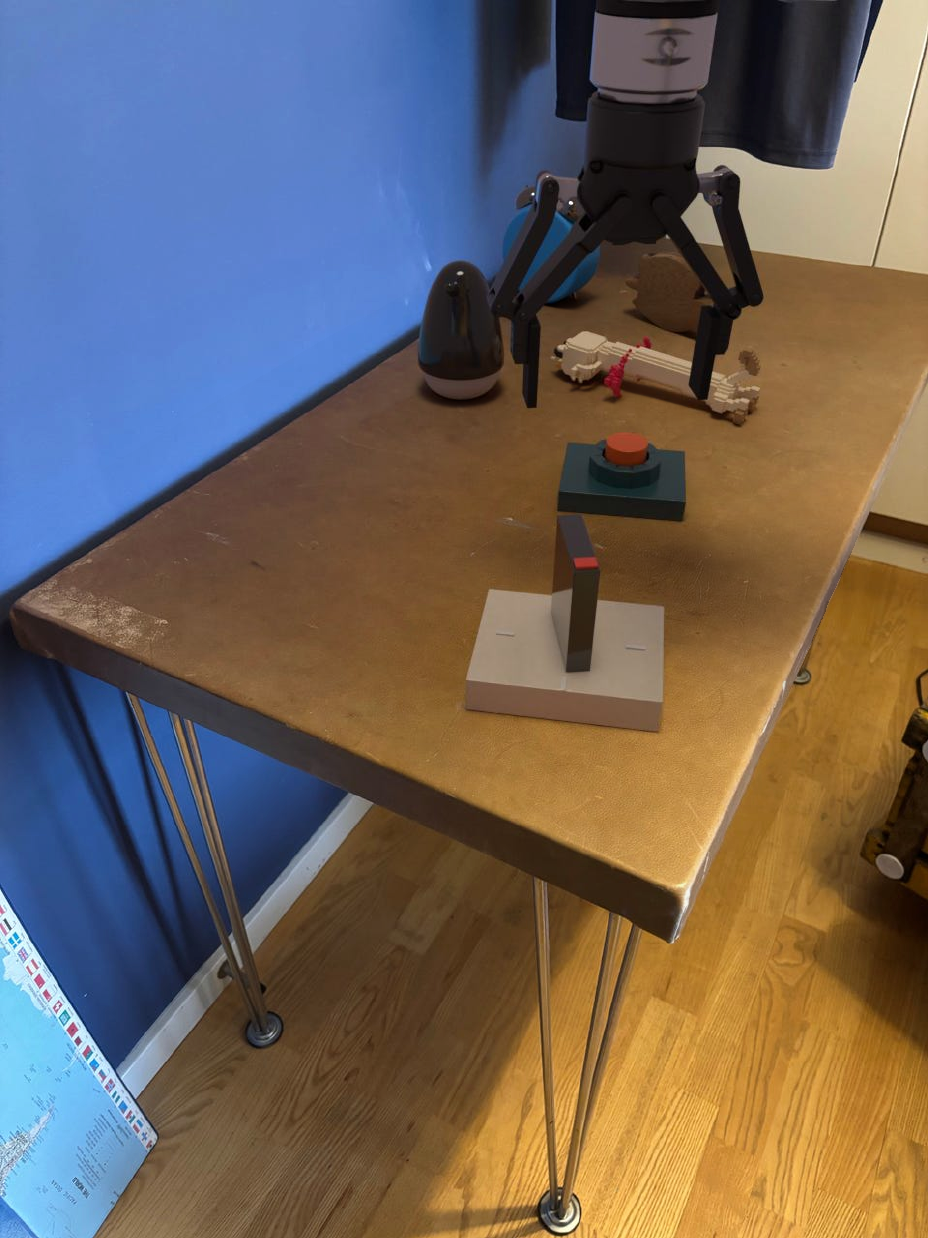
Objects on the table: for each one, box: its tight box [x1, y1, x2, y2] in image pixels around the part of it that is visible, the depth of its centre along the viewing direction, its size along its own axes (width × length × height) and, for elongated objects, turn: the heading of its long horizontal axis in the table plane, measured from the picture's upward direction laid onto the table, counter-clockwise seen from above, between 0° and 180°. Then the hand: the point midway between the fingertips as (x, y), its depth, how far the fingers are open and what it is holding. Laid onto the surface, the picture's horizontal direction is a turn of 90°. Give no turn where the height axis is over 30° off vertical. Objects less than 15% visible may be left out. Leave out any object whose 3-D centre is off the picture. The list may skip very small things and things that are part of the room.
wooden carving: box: [624, 251, 714, 335], centre depth 121 cm, size 16×5×10 cm, turn 44°
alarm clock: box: [502, 184, 601, 304], centre depth 129 cm, size 13×6×15 cm, turn 53°
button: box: [605, 431, 649, 466], centre depth 89 cm, size 4×4×2 cm
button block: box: [556, 438, 687, 522], centre depth 90 cm, size 12×10×4 cm
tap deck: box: [465, 588, 665, 733], centre depth 70 cm, size 14×11×3 cm
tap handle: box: [551, 513, 602, 672], centre depth 66 cm, size 7×2×9 cm, turn 5°
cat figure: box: [550, 330, 762, 426], centre depth 106 cm, size 10×9×25 cm
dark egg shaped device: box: [417, 259, 505, 401], centre depth 105 cm, size 10×10×15 cm
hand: (614, 396), depth 72 cm, fingers open, 13 cm apart
